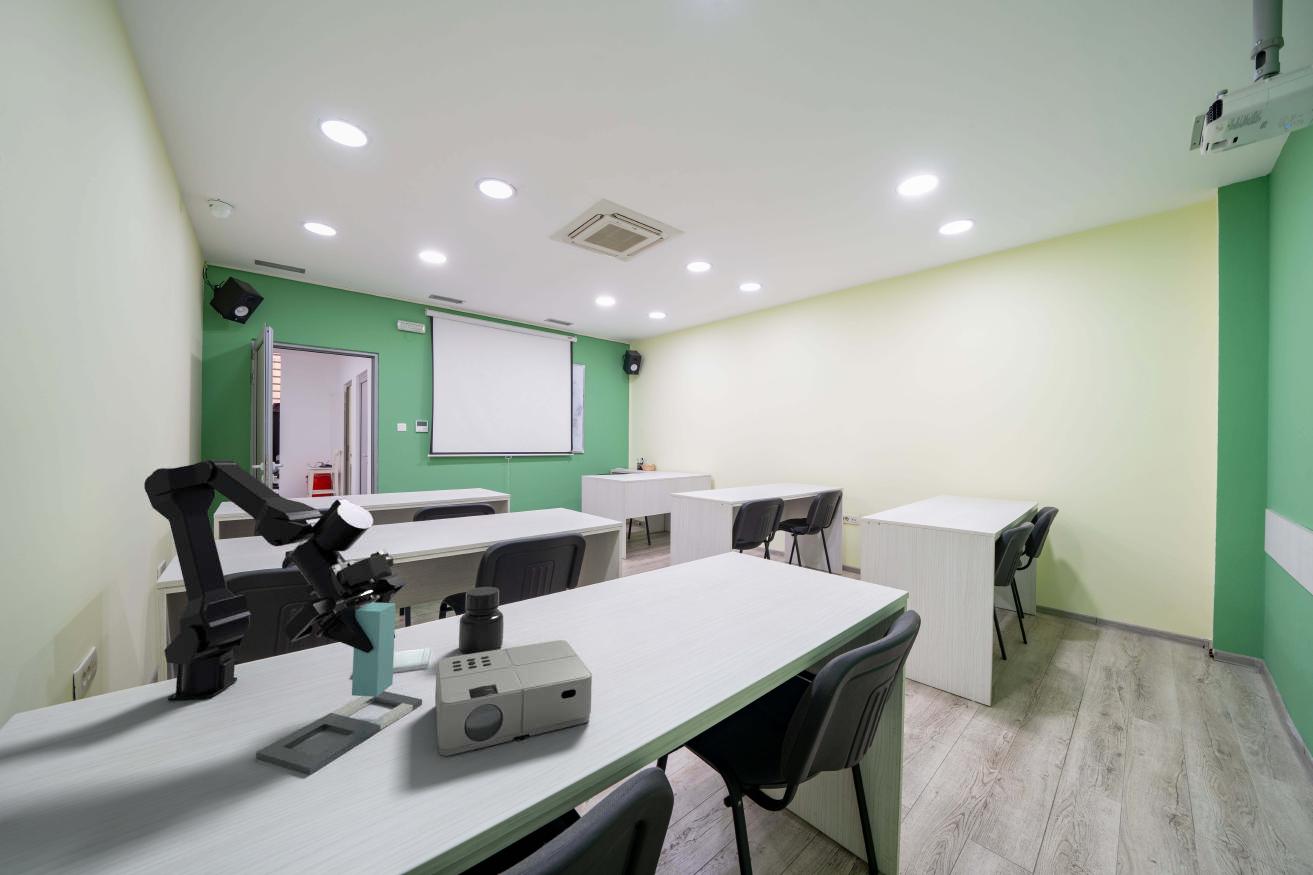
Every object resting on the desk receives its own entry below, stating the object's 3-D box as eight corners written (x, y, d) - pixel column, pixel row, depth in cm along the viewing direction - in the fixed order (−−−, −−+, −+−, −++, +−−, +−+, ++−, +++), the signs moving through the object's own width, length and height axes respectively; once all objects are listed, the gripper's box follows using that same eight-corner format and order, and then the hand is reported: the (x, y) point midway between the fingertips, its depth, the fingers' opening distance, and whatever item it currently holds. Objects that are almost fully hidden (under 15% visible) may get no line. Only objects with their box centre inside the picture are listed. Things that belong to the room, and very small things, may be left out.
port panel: (310, 774, 61) (310, 768, 61) (255, 757, 64) (256, 751, 64) (421, 704, 78) (422, 699, 79) (375, 693, 82) (375, 689, 82)
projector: (434, 705, 79) (436, 657, 79) (564, 679, 89) (565, 637, 89) (437, 764, 64) (440, 704, 64) (593, 725, 74) (595, 674, 74)
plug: (351, 695, 74) (355, 610, 74) (368, 682, 78) (371, 602, 78) (376, 696, 73) (380, 611, 74) (392, 683, 77) (395, 603, 78)
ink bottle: (509, 639, 107) (511, 585, 107) (497, 656, 98) (499, 597, 98) (465, 639, 106) (467, 585, 107) (449, 656, 97) (451, 596, 98)
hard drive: (353, 672, 87) (428, 662, 92) (362, 654, 95) (431, 646, 99) (352, 681, 87) (428, 670, 92) (361, 663, 95) (430, 654, 99)
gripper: (305, 547, 68) (369, 633, 65) (399, 528, 86) (451, 595, 84) (257, 598, 69) (317, 684, 67) (359, 569, 87) (410, 636, 85)
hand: (382, 645), depth 75 cm, fingers closed on plug, 4 cm apart
